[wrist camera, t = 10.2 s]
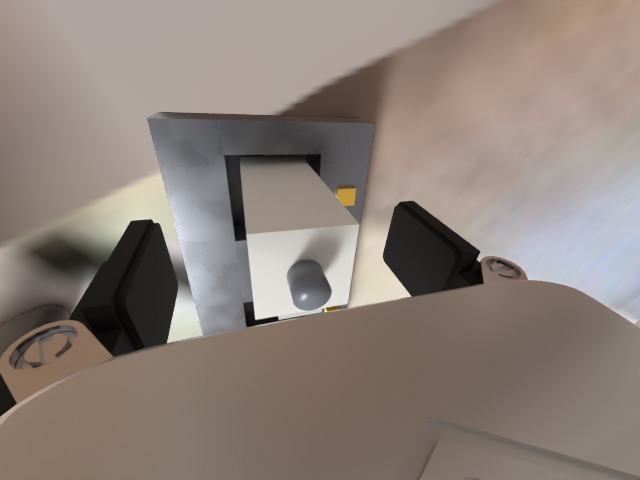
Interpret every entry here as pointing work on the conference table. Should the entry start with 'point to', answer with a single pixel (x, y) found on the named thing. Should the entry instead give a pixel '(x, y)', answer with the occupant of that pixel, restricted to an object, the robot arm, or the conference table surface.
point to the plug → (295, 238)
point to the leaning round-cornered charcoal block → (29, 324)
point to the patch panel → (227, 198)
